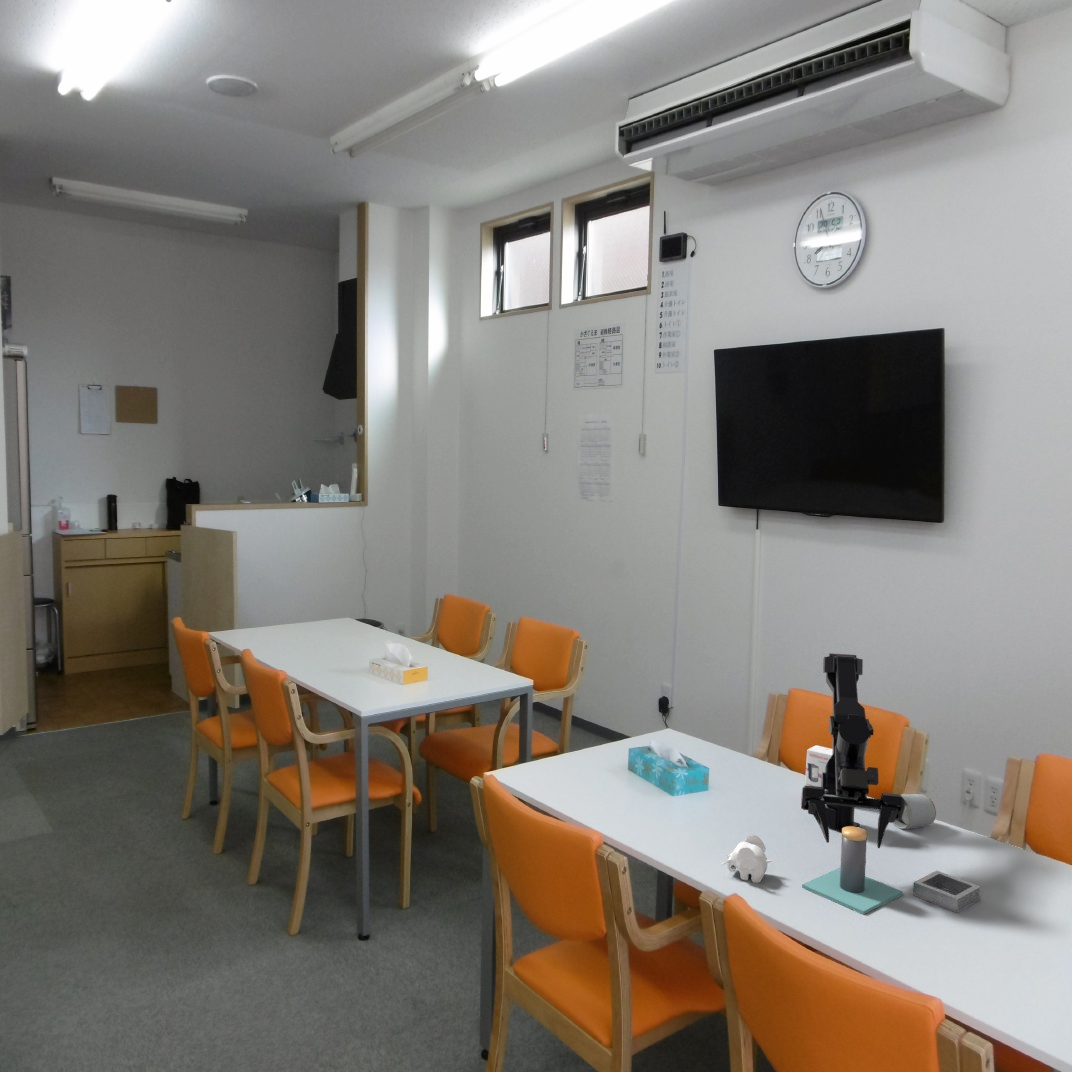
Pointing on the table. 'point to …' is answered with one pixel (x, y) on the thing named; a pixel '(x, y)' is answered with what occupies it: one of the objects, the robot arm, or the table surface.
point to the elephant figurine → (749, 859)
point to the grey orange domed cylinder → (853, 859)
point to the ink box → (816, 764)
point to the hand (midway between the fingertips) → (853, 844)
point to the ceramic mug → (916, 812)
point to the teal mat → (858, 902)
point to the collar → (928, 892)
